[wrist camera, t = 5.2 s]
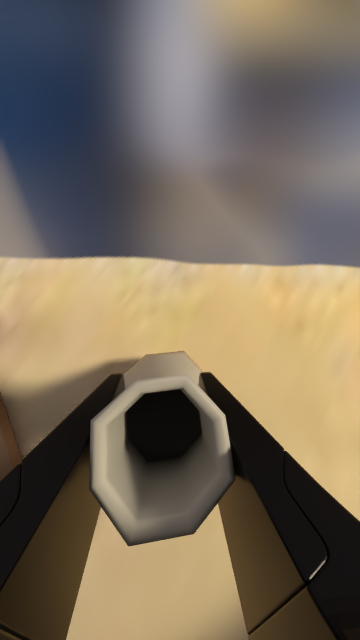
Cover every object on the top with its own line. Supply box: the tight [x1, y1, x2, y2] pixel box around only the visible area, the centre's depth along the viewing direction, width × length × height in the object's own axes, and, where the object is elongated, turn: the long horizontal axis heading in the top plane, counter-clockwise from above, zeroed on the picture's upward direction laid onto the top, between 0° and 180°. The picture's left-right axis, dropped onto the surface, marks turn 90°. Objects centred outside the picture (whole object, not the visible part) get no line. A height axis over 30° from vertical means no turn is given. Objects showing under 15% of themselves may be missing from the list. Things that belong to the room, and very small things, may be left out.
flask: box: [89, 351, 236, 546], centre depth 9 cm, size 7×7×10 cm
